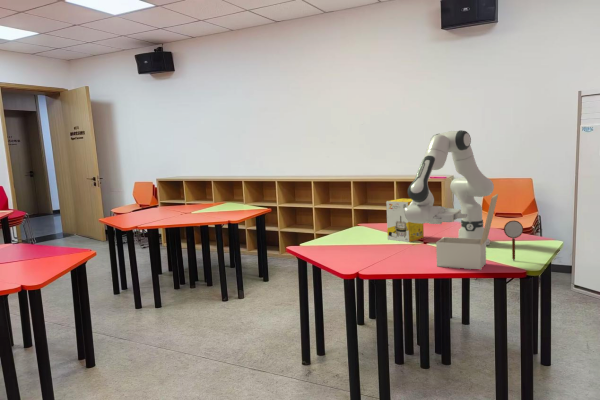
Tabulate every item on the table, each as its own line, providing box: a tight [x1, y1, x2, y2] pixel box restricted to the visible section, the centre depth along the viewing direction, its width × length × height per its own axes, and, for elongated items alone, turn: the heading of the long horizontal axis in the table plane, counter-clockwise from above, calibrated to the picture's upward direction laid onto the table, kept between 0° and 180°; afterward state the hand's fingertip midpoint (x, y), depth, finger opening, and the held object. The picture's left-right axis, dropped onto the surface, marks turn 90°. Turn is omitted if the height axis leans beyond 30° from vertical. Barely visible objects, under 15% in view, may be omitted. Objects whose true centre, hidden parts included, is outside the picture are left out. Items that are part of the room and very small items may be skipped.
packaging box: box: [385, 198, 425, 243], centre depth 284 cm, size 16×16×25 cm
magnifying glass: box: [503, 220, 524, 262], centre depth 215 cm, size 9×2×20 cm, turn 77°
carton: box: [435, 236, 487, 271], centre depth 214 cm, size 13×20×12 cm, turn 57°
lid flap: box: [480, 193, 499, 245], centre depth 205 cm, size 14×22×1 cm
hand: (466, 215), depth 211 cm, fingers closed
